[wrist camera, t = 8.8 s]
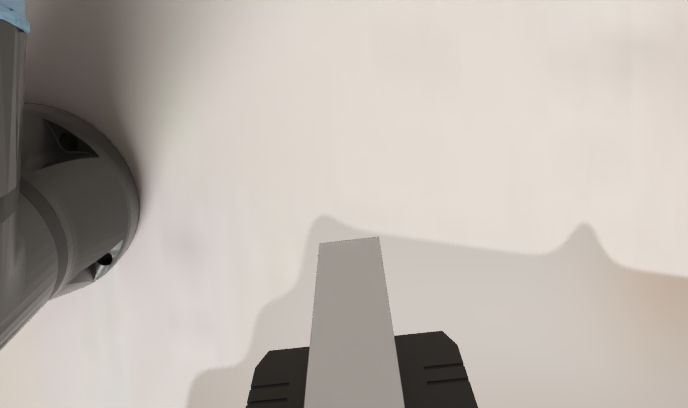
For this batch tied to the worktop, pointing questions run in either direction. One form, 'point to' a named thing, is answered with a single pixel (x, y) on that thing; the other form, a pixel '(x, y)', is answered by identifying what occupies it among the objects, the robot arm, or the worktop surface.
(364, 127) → the worktop surface
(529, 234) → the worktop surface
